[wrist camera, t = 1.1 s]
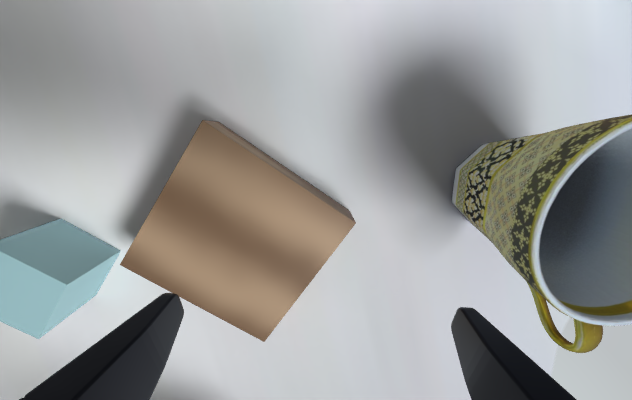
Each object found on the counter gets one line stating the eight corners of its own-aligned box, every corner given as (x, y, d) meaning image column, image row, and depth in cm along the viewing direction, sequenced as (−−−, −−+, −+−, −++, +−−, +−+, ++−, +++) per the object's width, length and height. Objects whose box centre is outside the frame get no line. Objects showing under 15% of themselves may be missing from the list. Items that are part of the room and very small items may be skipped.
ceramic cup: (436, 119, 19) (562, 108, 10) (566, 118, 20) (814, 106, 10) (420, 274, 23) (503, 380, 13) (531, 271, 23) (693, 373, 13)
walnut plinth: (269, 315, 23) (264, 341, 20) (145, 246, 21) (119, 264, 18) (349, 210, 21) (355, 223, 18) (218, 121, 19) (202, 120, 16)
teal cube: (96, 294, 22) (38, 339, 18) (39, 265, 22) (-39, 303, 17) (121, 250, 21) (67, 285, 17) (61, 218, 21) (-14, 244, 16)
